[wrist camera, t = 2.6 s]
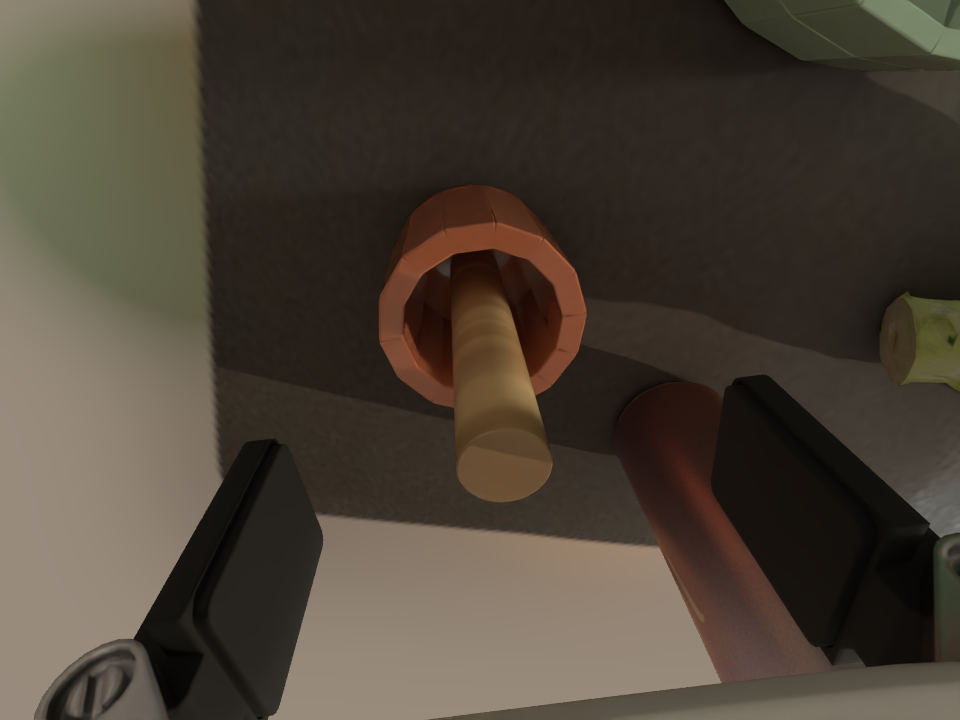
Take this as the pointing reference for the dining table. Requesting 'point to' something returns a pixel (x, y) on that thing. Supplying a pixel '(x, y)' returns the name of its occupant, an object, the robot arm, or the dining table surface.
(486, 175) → the dining table surface
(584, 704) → the robot arm
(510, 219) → the holder
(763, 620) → the beverage can
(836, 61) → the bowl
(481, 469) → the stick
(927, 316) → the vegetable
